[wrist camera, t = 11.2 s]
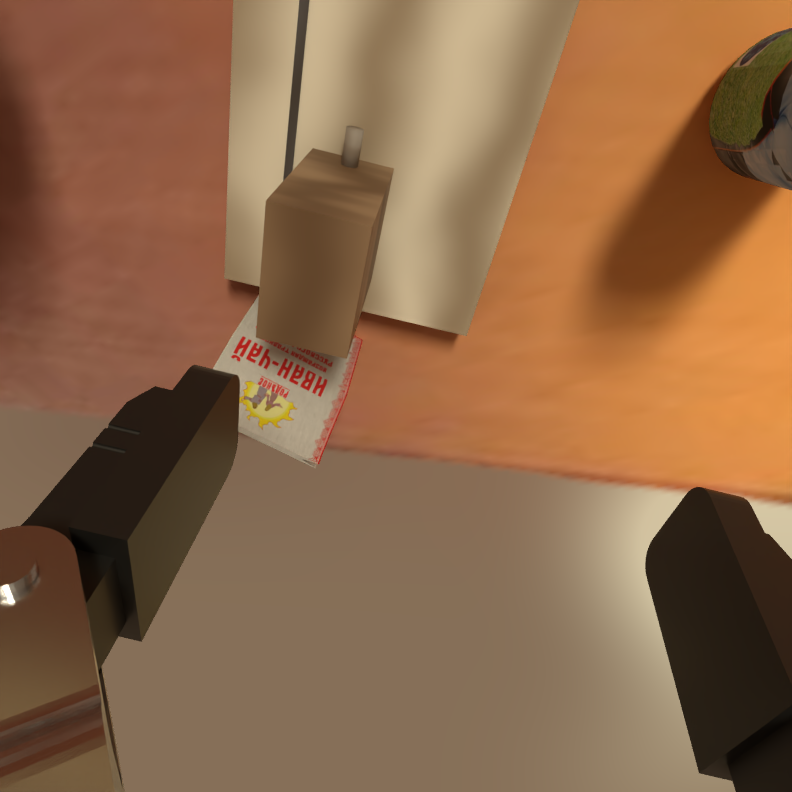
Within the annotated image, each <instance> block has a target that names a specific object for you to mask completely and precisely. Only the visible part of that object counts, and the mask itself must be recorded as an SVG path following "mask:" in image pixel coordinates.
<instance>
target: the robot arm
mask: <svg viewBox="0 0 792 792" xmlns="http://www.w3.org/2000/svg"><path fill="white" fill-rule="evenodd" d="M239 399H240V379H239V376H238V375H235V374H231V373H227V372H223V371H219V370H215V369H210V368H206V367H202V366H198V365H193V366H191V367H190V368H189V369H188V371H187V372H186V373H185V374H184V376H183V377H182V378H181V380H180V381H179V382H178V384H177V385H176V386H175V388H174V389H173V390H168V389H164V388H160V387H156V386H155V387H153V388H151V389H150V390H148V391H146V392H144V393H142V394H141V395H139V396H137V397H135V398H134V399H132V400H130V401H128V402H127V403H126V404H125V405H124V406H123V408H122V409H121V410H120V411H119V412H118V413H117V415H116V416H115V417H114V418H113V419H112V420H111V422H110V423H109V426H108V428H105V429H104V430H103V431H102V432H101V433H100V435H99V436H98V437H97V438H96V440H95V441H94V442H93V446H92V447H89V448H88V449H87V450H86V451H85V452H84V453H83V455H82V456H81V457H80V458H79V459H78V460H77V462H76V463H75V464H74V465H73V466H72V468H71V469H70V470H69V471H68V472H67V473H66V475H65V476H64V477H63V478H62V479H61V480H60V482H59V483H58V484H57V485H56V486H55V488H54V489H53V490H52V491H51V492H50V493H49V495H48V496H47V497H46V498H45V499H44V500H43V502H42V503H41V504H40V505H39V506H38V508H37V509H36V510H35V511H34V512H33V513H32V515H31V516H30V517H29V518H28V519H27V520H26V521H25V522H24V523H23V524H22V525H21V526H16V527H11V528H6V529H2V530H0V792H125V789H124V784H123V778H122V773H121V767H120V762H119V756H118V751H117V745H116V739H115V734H114V729H113V723H112V717H111V712H110V706H109V701H108V695H107V689H106V684H105V678H104V673H103V668H102V664H103V663H104V661H105V659H106V657H107V656H108V654H109V652H110V650H111V648H112V647H113V645H114V643H115V641H116V639H117V638H118V636H120V637H124V638H128V639H133V640H137V641H142V640H143V638H144V636H145V634H146V632H147V630H148V628H149V626H150V624H151V622H152V620H153V618H154V617H155V615H156V613H157V611H158V609H159V607H160V605H161V603H162V601H163V599H164V597H165V595H166V594H167V592H168V590H169V588H170V586H171V584H172V582H173V580H174V578H175V576H176V574H177V572H178V571H179V569H180V567H181V565H182V563H183V561H184V559H185V557H186V555H187V553H188V551H189V549H190V548H191V546H192V543H193V542H194V540H195V538H196V536H197V534H198V532H199V530H200V528H201V526H202V524H203V523H204V521H205V519H206V517H207V515H208V513H209V511H210V509H211V507H212V505H213V503H214V501H215V500H216V498H217V496H218V494H219V492H220V490H221V488H222V486H223V484H224V482H225V480H226V478H227V476H228V474H229V472H230V470H231V467H232V465H233V461H234V458H235V454H236V450H237V443H238V424H239ZM645 569H646V576H647V579H648V584H649V587H650V591H651V595H652V599H653V602H654V606H655V610H656V613H657V617H658V621H659V625H660V628H661V632H662V636H663V640H664V643H665V647H666V651H667V654H668V658H669V662H670V666H671V669H672V673H673V677H674V680H675V685H676V688H677V692H678V696H679V699H680V703H681V707H682V711H683V714H684V718H685V722H686V725H687V729H688V733H689V736H690V740H691V744H692V747H693V752H694V756H695V759H696V763H697V767H698V770H699V773H701V774H705V775H709V776H714V777H718V778H722V779H727V780H731V781H733V784H734V787H735V790H736V792H792V559H791V558H790V557H789V556H788V555H787V554H786V552H785V551H784V550H783V549H782V548H781V547H780V546H779V545H778V543H777V542H776V541H775V540H774V539H773V538H772V537H771V536H770V535H769V534H766V533H764V530H763V528H762V526H761V525H760V523H759V521H758V519H757V517H756V515H755V513H754V511H753V509H752V507H751V505H750V503H749V502H748V501H747V500H746V499H744V498H742V497H739V496H735V495H731V494H727V493H723V492H718V491H714V490H710V489H706V488H702V487H696V488H693V489H691V490H690V491H689V492H688V493H687V494H686V495H685V497H684V498H683V499H682V501H681V502H680V503H679V505H678V506H677V508H676V509H675V510H674V512H673V513H672V514H671V516H670V517H669V518H668V520H667V521H666V522H665V524H664V525H663V526H662V528H661V529H660V530H659V532H658V533H657V534H656V536H655V537H654V538H653V540H652V542H651V543H650V545H649V548H648V551H647V555H646V568H645Z"/></svg>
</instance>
